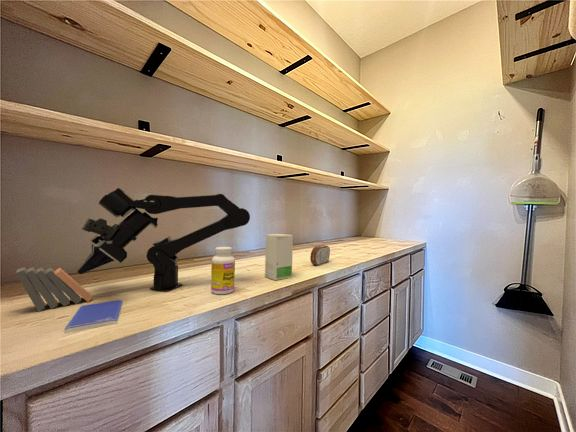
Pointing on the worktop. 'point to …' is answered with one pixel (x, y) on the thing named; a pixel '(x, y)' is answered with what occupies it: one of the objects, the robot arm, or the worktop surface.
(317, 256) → the tin
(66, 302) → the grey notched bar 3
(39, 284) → the domino
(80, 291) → the domino
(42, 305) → the domino
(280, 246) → the skincare box
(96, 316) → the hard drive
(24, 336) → the worktop surface
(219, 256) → the supplement bottle
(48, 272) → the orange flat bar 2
